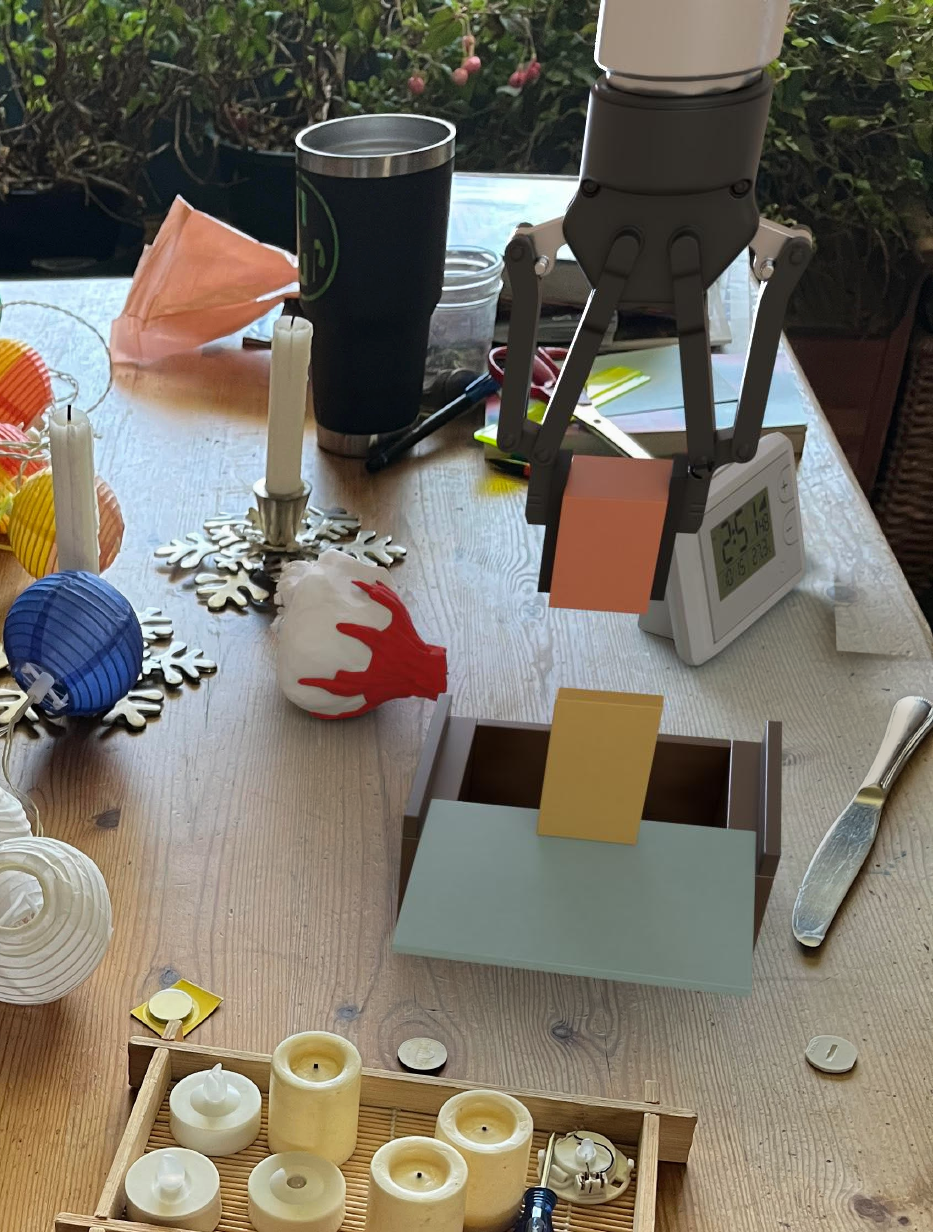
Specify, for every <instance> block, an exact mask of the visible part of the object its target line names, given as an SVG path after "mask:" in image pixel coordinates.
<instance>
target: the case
mask: <svg viewBox="0 0 933 1232" xmlns="http://www.w3.org/2000/svg"><path fill="white" fill-rule="evenodd" d="M453 696H454V695H453V694H452V693H445V694H444V693H439V695H438V699H437V702H436V701H435V706H434V709H433V713H432V716H431V719H430V723H429V726H428V730H427V733H426V736H425V741H424V743H423V747H422V750H421V753H420V757H419V761H418V764H417V767H416V771H415V774H414V778H413V782H412V785H411V788H410V792H409V795H408V799H407V802H406V804H405V805H406V806H405V809H404V813H403V817H402V818H403V819H402V830H401V831H402V832H401V847H400V859H399V862H400V863H399V876H398V889H397V891H398V892H397V903H396V905H397V906H396V918H395V919H396V921H395V926H396V925H397V921H398V918H399V914H400V911H401V907H402V903H403V900H404V896H405V892H406V889H407V885H408V881H409V878H410V874H411V870H412V867H413V863H414V859H415V856H416V852H417V848H418V845H419V841H420V837H421V834H422V830H423V826H424V823H425V819H426V816H427V812H428V808H429V805H430V801H431V799H438V800H448V801H458V802H468V803H477V804H487V805H497V806H507V807H517V808H527V809H537V810H540V803H541V796H542V789H543V782H544V775H545V768H546V761H547V754H548V747H549V740H550V733H551V726H552V723H544V722H543V723H542V722H532V721H522V720H509V719H498V718H486V717H474V716H463V715H462V716H461V715H453V714H452V707H453ZM764 727H765V728H764V731H763V736H762V739H761V741H750V740H749V741H748V740H738V739H732V740H731V739H728V738H717V737H704V736H695V735H694V736H693V735H682V734H671V733H670V734H669V733H659V732H658V736H657V741H656V746H655V751H654V756H653V761H652V766H651V771H650V776H649V781H648V786H647V791H646V796H645V801H644V807H643V812H642V817H641V820H646V821H656V822H666V823H676V824H685V825H695V826H705V827H715V828H725V829H735V830H745V831H755V832H756V861H755V897H754V933H753V954H754V953H755V949H756V946H757V942H758V939H759V936H760V932H761V928H762V925H763V922H764V917H765V914H766V910H767V907H768V903H769V899H770V896H771V894H772V893H771V892H772V889H773V885H774V881H775V879H776V878H775V877H776V874H777V872H778V868H779V864H780V861H781V857H782V812H783V811H782V810H783V809H782V805H783V803H782V800H783V799H782V797H783V795H782V794H783V792H782V791H783V721H780V720H766V724H765V726H764Z"/></svg>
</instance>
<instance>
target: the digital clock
mask: <svg viewBox="0 0 933 1232" xmlns="http://www.w3.org/2000/svg"><path fill="white" fill-rule="evenodd" d="M796 469H797V468H796V461H795V453H794V447H793V442H792V440H791V439H790V438H789V437H787V436H786V435H785V434H783V433H782V432H780V431H776V432H772V433H768V434H767V435H763V436H762V437H760V439H759V444H758V449H757V453H756V455H755V457H754V458H753V459H752V460H751V461H749V462H747V463H743V464H740V463H736V462H733V463H729V464H726V465H723V466H721V467H720V468H718V469H717V470H716V471H715V472H714V474H713V476H712V479H711V483H710V488H709V493H708V498H707V503H706V508H705V513H704V518H703V523H702V526H701V527H700V529H699V530H698V532H697V533H696V534H688V533H677V534H676V539H675V544H674V550H673V555H672V560H671V566H670V571H669V576H668V581H667V587H666V592H665V597H664V601H656V600H649V606H648V611H647V614H638V619H637V627H638V628H639V630H643V631H645V632H648V633H650V634H651V633H652V634H654V635H657V636H660V637H664V638H666V639H667V638H668V639H671V640H674V645H675V651H676V653H677V656H678V657H679V659H680V660H681V661H682V662H683V663H684V664H686V665H688V666H701V665H703V664H704V663H706V662H707V661H709V660H710V659H712V658H713V657H714V656H716V655H718V654H719V653H720V652H721V651H723V650H724V649H725V648H726V647H728V646H729V645H730V644H731V643H732V642H733V641H734V640H736V639H737V638H738V637H739V636H740V635H741V634H742V633H744V632H745V630H747V629H748V628H749V627H751V625H753V624H754V623H755V622H756V621H757V620H758V619H760V618H761V617H762V616H763V615H765V613H767V612H768V611H769V610H770V609H771V608H772V607H773V606H775V605H776V604H777V603H778V602H780V600H782V599H783V598H784V597H785V596H786V595H788V593H790V591H792V590H793V589H794V588H795V587H796V586H797V585H798V584H800V582H801V581H802V580H803V579H804V578H805V576H806V573H807V558H806V548H805V541H804V531H803V522H802V513H801V506H800V497H799V496H800V495H799V487H798V479H797V470H796Z"/></svg>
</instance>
